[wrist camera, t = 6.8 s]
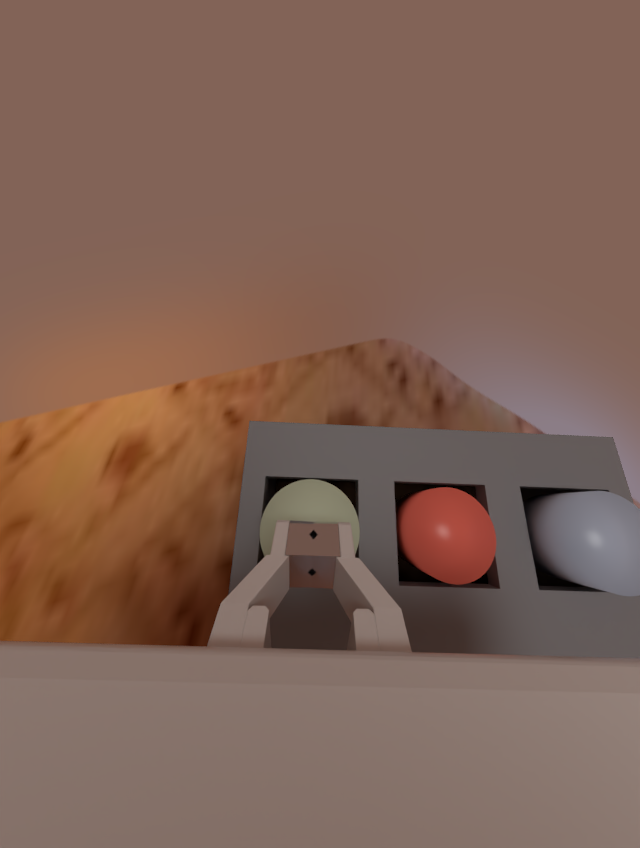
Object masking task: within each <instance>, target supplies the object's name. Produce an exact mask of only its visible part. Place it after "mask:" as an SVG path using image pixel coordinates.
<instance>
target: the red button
mask: <svg viewBox="0 0 640 848" xmlns="http://www.w3.org/2000/svg"><path fill="white" fill-rule="evenodd" d="M395 511H396V532H397V553H398V555H399V556H400V557H401V558H402V559H403V560H404V561H405V562H407V563H408V564H410V565H411V566H413V567H415V568H417V569H419V570H421V571H423V572H424V573H426V574H428V575H430V576H432V577H434V578H436V579H437V580H440V581H442V582H445V583H449V584H455V585H460V584H467V583H470V582H473V581H475V580H477V579H479V578H480V577H481V576H483V575H484V574H485V573H486V571H487V570H488V569H489V567H490V566H491V564H492V562H493V559H494V556H495V552H496V534H495V529H494V526H493V523H492V521H491V519H490V516H489V515H488V513H487V511H486V510H485V509H484V507H483V506H482V505H481V504H480V503H479V502H478V501H477V500H476V499H475V498H474V497H472V496H471V495H469V494H468V493H466V492H464V491H461V490H459V489H455V488H450V487H439V488H434V489H428V490H423V491H417V492H412V493H409V494H407V495H405V496H403V497H402V498H400V499H399V500H398V501H397V502H396V504H395Z"/></svg>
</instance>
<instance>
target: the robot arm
mask: <svg viewBox="0 0 640 848" xmlns="http://www.w3.org/2000/svg"><path fill="white" fill-rule="evenodd" d="M289 587H312V588H328V589H333V591H334V593H335V594H336V596H337V598H338V600H339V601H340V603H341V605H342V607H343V608H344V610H345V612H346V614H347V616H348V617H349V619H350V621H351V628H350V634H349V639H348V645H347V650H320V649H282V648H271V632H270V617H271V616H272V614H273V613H274V611H275V610H276V608H277V607H278V605H279V604H280V602H281V601H282V599H283V598H284V596H285V595H286V593H287V592H288V590H289ZM0 848H640V658H612V657H575V656H538V655H501V654H464V653H427V652H412V651H411V647H410V643H409V639H408V635H407V631H406V627H405V622H404V618H403V614H402V610H401V608H400V607H399V606H398V605H397V603H396V602H395V601H394V600H393V599H392V597H391V596H390V595H389V594H388V593H387V591H386V590H385V589H384V588H383V586H382V585H381V584H380V583H379V582H378V580H377V579H376V578H375V577H374V576H373V574H372V573H371V572H370V571H369V569H368V568H367V567H366V566H365V565H364V563H363V562H362V561H361V560H360V559H359V558H355V552H354V544H353V536H352V528H351V524H350V522H309V521H293V520H290V521H289V520H277V522H276V527H275V532H274V537H273V542H272V548H271V553H270V555H266V556H265V557H264V558H263V559H262V560H261V561H260V562H259V563H258V564H257V565H256V566H255V567H254V568H253V570H252V571H251V572H250V573H249V574H248V575H247V576H246V577H245V578H244V579H243V580H242V581H241V582H240V583H239V584H238V585H237V586H236V588H235V589H234V590H233V591H232V592H231V593H230V594H229V595H228V596H227V597H226V598H225V599H224V600H223V601H222V602H221V604H220V607H219V610H218V613H217V616H216V619H215V623H214V626H213V629H212V632H211V635H210V638H209V641H208V644H207V646H172V645H135V644H99V643H63V642H28V641H0Z"/></svg>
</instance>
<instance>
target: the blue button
mask: <svg viewBox="0 0 640 848" xmlns="http://www.w3.org/2000/svg"><path fill="white" fill-rule="evenodd" d="M523 507H524V512H525V517H526V523H527V528H528V533H529V539H530V544H531V549H532V555H533V560H534V565H535V568H536V569H538V570H539V571H541V572H542V573H544V574H546V575H549V576H551V577H555V578H558V579H562V580H566V581H569V582H573V583H577V584H580V585H584V586H588V587H591V588H595V589H599V590H602V591H606V592H610V593H614V594H617V595H621V596H629V597H630V596H639V595H640V509H639V508H638V507H636V506H635V505H634V504H633V503H631V502H630V501H628V500H627V499H625V498H623V497H621V496H619V495H617V494H614V493H611V492H606V491H586V492H572V493H558V494H544V495H536V496H533V497H530V498H528V499H527V500H525V501H524V502H523Z"/></svg>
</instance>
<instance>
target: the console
mask: <svg viewBox="0 0 640 848" xmlns="http://www.w3.org/2000/svg"><path fill="white" fill-rule="evenodd" d="M276 478H281V479H315V480H331V481H356V513H357V517H358V521H359V528H360V537H359V544H358V548H357V551H356V558H359V559H360V560H361V561H362V562H363V563H364V565H365V566H366V567H367V568H368V569H369V571H370V572H371V573H372V574H373V576H374V577H375V578H376V579H377V580H378V582H379V583H380V584H381V585H382V586H383V588H384V589H385V590H386V591H387V593H388V594H389V595H390V596H391V597H392V599H393V600H394V601H395V602H396V603H397V605H398V606H399V607H400V608H401V610H402V614H403V618H404V622H405V627H406V631H407V635H408V639H409V643H410V647H411V651H412V652H427V653H464V654H501V655H538V656H575V657H612V658H640V595H639V596H630V597H629V596H621V595H617V594H614V593H610V592H606V591H602V590H599V589H595V588H591V587H588V586H584V585H580V584H577V583H573V582H569V581H566V580H562V579H558V578H555V577H551V576H549V575H546V574H544V573H542V572H541V571H539V570H538V569H536V568H535V565H534V560H533V555H532V549H531V544H530V539H529V533H528V528H527V523H526V517H525V512H524V507H523V502H524V501H525V500H527V499H528V498H530V497H533V496H536V495H544V494H558V493H572V492H586V491H606V492H611V493H614V494H617V495H619V496H621V497H623V498H625V499H627V500H628V501H630V502H631V503H633V500H632V497H631V494H630V491H629V487H628V484H627V481H626V478H625V475H624V471H623V468H622V465H621V462H620V458H619V455H618V452H617V449H616V446H615V442H614V439H613V437H594V436H593V437H592V436H572V435H570V436H569V435H549V434H527V433H505V432H483V431H461V430H439V429H416V428H394V427H372V426H350V425H328V424H305V423H283V422H261V421H250V422H249V430H248V438H247V447H246V455H245V463H244V471H243V479H242V487H241V496H240V504H239V512H238V520H237V528H236V537H235V545H234V553H233V561H232V569H231V577H230V586H229V594H230V593H231V592H232V591H233V590H234V589H235V588H236V586H237V585H238V584H239V583H240V582H241V581H242V580H243V579H244V578H245V577H246V576H247V575H248V574H249V573H250V572H251V571H252V570H253V568H254V567H255V566H256V565H257V564H258V563H259V562H260V561H261V560H262V559H263V558H264V554H263V551H262V548H261V543H260V524H261V519H262V516H263V513H264V511H265V508H266V507H267V505H268V503H269V502H270V500H271V499H272V498H273V496H274V495H275V489H276ZM394 483H406V484H431V485H456V486H475V491H476V498H477V501H478V502H479V503H480V504H481V505H482V506H483V507H484V509H485V510H486V511H487V513H488V515H489V516H490V519H491V521H492V523H493V526H494V529H495V534H496V552H495V556H494V559H493V562H492V564H491V566H490V567H489V569H488V570H487V578H488V584H471V583H467V584H460V585H455V584H449V583H439V582H407V581H399V574H398V553H397V532H396V511H395V491H394ZM229 594H228V595H229ZM350 628H351V621H350V619H349V617H348V616H347V614H346V612H345V610H344V608H343V607H342V605H341V603H340V601H339V600H338V598H337V596H336V594H335V593H334V591H333V589H328V588H312V587H289V590H288V592H287V593H286V595H285V596H284V598H283V599H282V601H281V602H280V604H279V605H278V607H277V608H276V610H275V611H274V613H273V614H272V616H271V617H270V632H271V648H282V649H320V650H347V645H348V639H349V634H350Z"/></svg>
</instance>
